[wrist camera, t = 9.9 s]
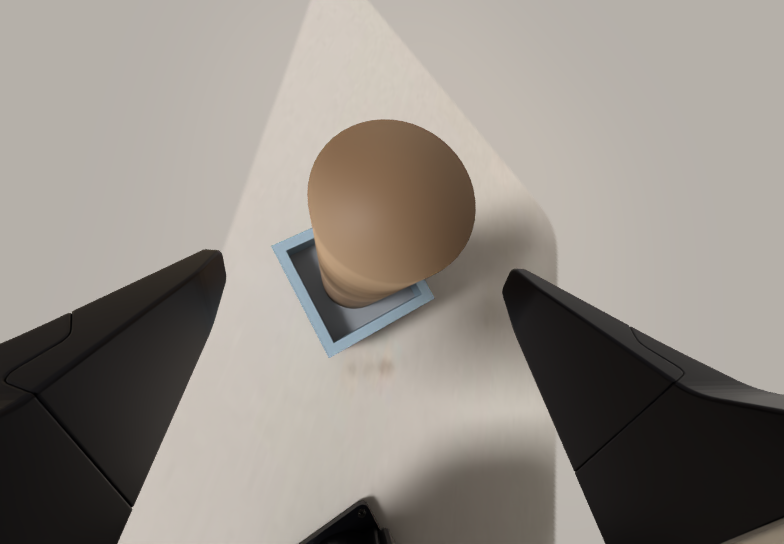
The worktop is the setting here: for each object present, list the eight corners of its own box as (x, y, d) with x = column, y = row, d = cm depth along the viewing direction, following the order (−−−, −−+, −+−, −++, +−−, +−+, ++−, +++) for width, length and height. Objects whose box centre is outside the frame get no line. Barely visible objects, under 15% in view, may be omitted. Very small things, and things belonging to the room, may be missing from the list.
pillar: (366, 319, 19) (433, 313, 7) (310, 290, 19) (272, 226, 6) (394, 265, 20) (498, 174, 8) (341, 236, 20) (361, 89, 7)
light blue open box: (329, 352, 21) (329, 358, 17) (280, 258, 21) (271, 245, 18) (418, 302, 22) (434, 298, 19) (372, 216, 23) (379, 197, 19)
